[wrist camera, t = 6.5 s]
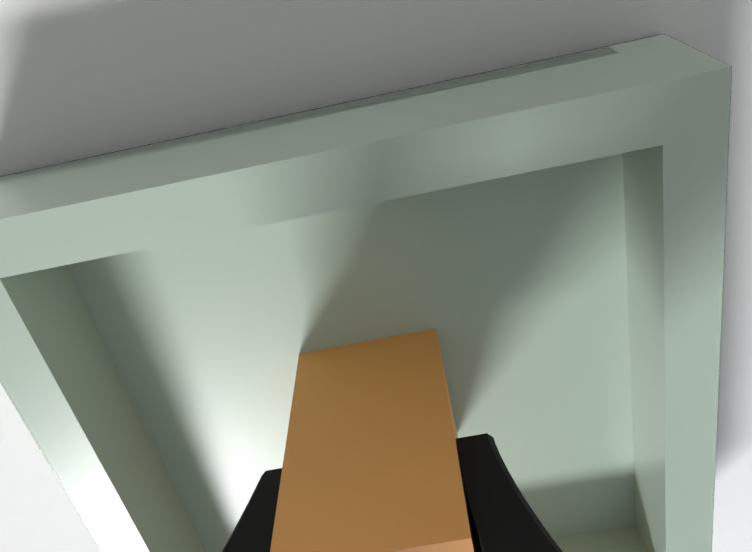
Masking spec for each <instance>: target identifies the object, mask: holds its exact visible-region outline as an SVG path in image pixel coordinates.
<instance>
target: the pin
mask: <svg viewBox="0 0 752 552" xmlns="http://www.w3.org/2000/svg"><path fill="white" fill-rule="evenodd" d="M456 438H458V435H457V430H456V425H455V420H454V415H453V410H452V405H451V400H450V395H449V390H448V385H447V380H446V375H445V370H444V365H443V360H442V355H441V350H440V345H439V340H438V335H437V330H436V329H430V330H425V331H419V332H414V333H408V334H403V335H398V336H392V337H387V338H381V339H376V340H370V341H365V342H360V343H354V344H349V345H343V346H338V347H332V348H327V349H322V350H316V351H311V352H305V353H300V354H299V357H298V364H297V371H296V378H295V385H294V391H293V398H292V405H291V412H290V419H289V426H288V432H287V439H286V446H285V453H284V460H283V466H282V473H281V480H280V487H279V494H278V501H277V507H276V514H275V521H274V528H273V535H272V541H271V548H270V552H477V550H476V545H475V540H474V536H473V531H472V526H471V521H470V516H469V511H468V506H467V502H466V497H465V492H464V487H463V482H462V477H461V471H460V464H459V458H458V452H457V445H456Z"/></svg>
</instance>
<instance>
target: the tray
mask: <svg viewBox="0 0 752 552" xmlns="http://www.w3.org/2000/svg"><path fill="white" fill-rule="evenodd" d="M731 77H732V66H730V65H728V64H726V63H724V62H721V61H719V60H717V59H715V58H713V57H711V56H709V55H707V54H705V53H703V52H701V51H698V50H696V49H694V48H692V47H690V46H688V45H686V44H684V43H682V42H680V41H677V40H675V39H673V38H671V37H669V36H667V35H665V34H663V35H658V36H653V37H649V38H644V39H639V40H635V41H630V42H625V43H621V44H616V45H612V46H607V47H602V48H598V49H593V50H588V51H584V52H579V53H574V54H570V55H565V56H560V57H556V58H551V59H546V60H542V61H537V62H532V63H528V64H523V65H518V66H514V67H509V68H504V69H500V70H495V71H490V72H486V73H481V74H476V75H472V76H467V77H462V78H458V79H453V80H449V81H444V82H439V83H435V84H430V85H425V86H421V87H416V88H411V89H407V90H402V91H397V92H393V93H388V94H383V95H379V96H374V97H369V98H365V99H360V100H355V101H351V102H346V103H341V104H337V105H332V106H327V107H323V108H318V109H313V110H309V111H304V112H299V113H295V114H290V115H285V116H281V117H276V118H272V119H267V120H262V121H258V122H253V123H248V124H244V125H239V126H234V127H230V128H225V129H220V130H216V131H211V132H206V133H202V134H197V135H192V136H188V137H183V138H178V139H174V140H169V141H164V142H160V143H155V144H150V145H146V146H141V147H136V148H132V149H127V150H122V151H118V152H113V153H109V154H104V155H99V156H95V157H90V158H85V159H81V160H76V161H71V162H67V163H62V164H57V165H53V166H48V167H43V168H39V169H34V170H29V171H25V172H20V173H15V174H11V175H6V176H1V177H0V383H1V385H2V386H3V388H4V390H5V391H6V393H7V395H8V396H9V398H10V400H11V401H12V403H13V405H14V406H15V408H16V410H17V411H18V413H19V415H20V416H21V418H22V420H23V421H24V423H25V425H26V426H27V428H28V430H29V431H30V433H31V435H32V436H33V438H34V440H35V441H36V443H37V445H38V446H39V448H40V450H41V451H42V453H43V455H44V456H45V458H46V460H47V461H48V463H49V465H50V466H51V468H52V470H53V471H54V473H55V475H56V476H57V478H58V480H59V481H60V483H61V485H62V486H63V488H64V490H65V491H66V493H67V495H68V496H69V498H70V500H71V501H72V503H73V505H74V506H75V508H76V510H77V511H78V513H79V515H80V516H81V518H82V520H83V521H84V523H85V525H86V526H87V528H88V530H89V531H90V533H91V535H92V536H93V538H94V540H95V541H96V543H97V545H98V546H99V548H100V550H101V551H102V552H222V550H223V549H224V547H225V545H226V543H227V541H228V540H229V538H230V536H231V534H232V532H233V531H234V529H235V527H236V525H237V523H238V521H239V519H240V517H241V515H242V513H243V512H244V510H245V508H246V506H247V504H248V502H249V500H250V498H251V496H252V494H253V492H254V490H255V488H256V486H257V484H258V482H259V480H260V478H261V476H262V475H263V473H264V472H265V471H267V470H273V469H279V468H282V466H283V460H284V453H285V446H286V439H287V432H288V426H289V419H290V412H291V405H292V398H293V391H294V385H295V378H296V371H297V364H298V357H299V354H300V353H305V352H311V351H316V350H322V349H327V348H332V347H338V346H343V345H349V344H354V343H360V342H365V341H370V340H376V339H381V338H387V337H392V336H398V335H403V334H408V333H414V332H419V331H425V330H430V329H436V330H437V335H438V340H439V345H440V350H441V355H442V360H443V365H444V370H445V375H446V380H447V385H448V390H449V395H450V400H451V405H452V410H453V415H454V420H455V425H456V430H457V435H458V438H462V437H467V436H473V435H479V434H485V433H487V434H489V435H491V436H492V437H493V438H494V441H495V444H496V446H497V448H498V451H499V453H500V455H501V457H502V459H503V461H504V463H505V465H506V467H507V469H508V471H509V473H510V474H511V476H512V478H513V480H514V481H515V483H516V485H517V487H518V488H519V490H520V491H521V493H522V495H523V496H524V498H525V499H526V501H527V502H528V504H529V505H530V507H531V508H532V510H533V511H534V513H535V514H536V516H537V517H538V519H539V520H540V522H541V523H542V525H543V526H544V527H545V529H546V530H547V531H548V533H549V534H550V536H551V537H552V538H553V540H554V541H555V542H556V544H557V545H558V546H559V547H560V549H561V550H562V551H563V552H712V535H713V511H714V486H715V462H716V438H717V414H718V390H719V366H720V342H721V318H722V294H723V269H724V245H725V221H726V197H727V173H728V149H729V125H730V101H731Z"/></svg>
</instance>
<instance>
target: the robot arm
mask: <svg viewBox="0 0 752 552" xmlns="http://www.w3.org/2000/svg"><path fill="white" fill-rule="evenodd" d="M456 445H457V452H458V458H459V464H460V471H461V477H462V482H463V487H464V492H465V497H466V502H467V506H468V511H469V516H470V521H471V526H472V531H473V536H474V540H475V545H476V550H477V552H563V551H562V550H561V549H560V547H559V546H558V545H557V544H556V542H555V541H554V540H553V538H552V537H551V536H550V534H549V533H548V531H547V530H546V529H545V527H544V526H543V525H542V523H541V522H540V520H539V519H538V517H537V516H536V514H535V513H534V511H533V510H532V508H531V507H530V505H529V504H528V502H527V501H526V499H525V498H524V496H523V495H522V493H521V491H520V490H519V488H518V487H517V485H516V483H515V481H514V480H513V478H512V476H511V474H510V473H509V471H508V469H507V467H506V465H505V463H504V461H503V459H502V457H501V455H500V453H499V451H498V448H497V446H496V444H495V441H494V438H493V437H492V436H491V435H489V434H487V433H485V434H479V435H473V436H467V437H462V438H456ZM281 473H282V468H279V469H273V470H267V471H265V472H264V473H263V475H262V476H261V478H260V480H259V482H258V484H257V486H256V488H255V490H254V492H253V494H252V496H251V498H250V500H249V502H248V504H247V506H246V508H245V510H244V512H243V513H242V515H241V517H240V519H239V521H238V523H237V525H236V527H235V529H234V531H233V532H232V534H231V536H230V538H229V540H228V541H227V543H226V545H225V547H224V549H223V550H222V552H270V548H271V541H272V535H273V528H274V521H275V514H276V507H277V501H278V494H279V487H280V480H281Z"/></svg>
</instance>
